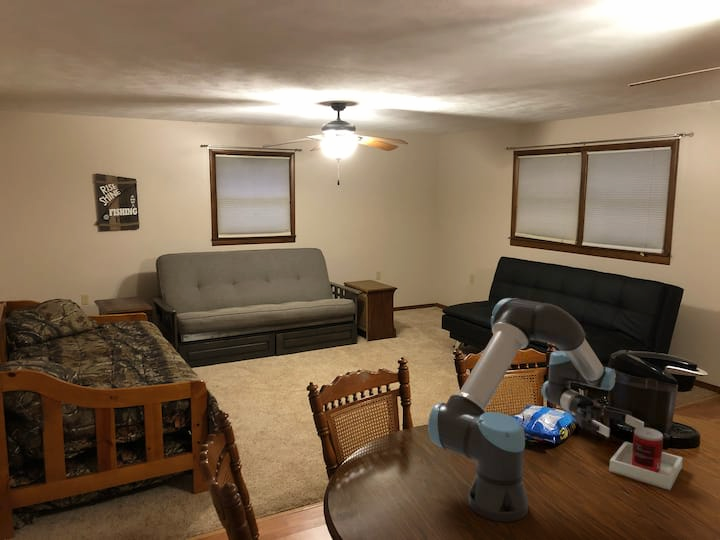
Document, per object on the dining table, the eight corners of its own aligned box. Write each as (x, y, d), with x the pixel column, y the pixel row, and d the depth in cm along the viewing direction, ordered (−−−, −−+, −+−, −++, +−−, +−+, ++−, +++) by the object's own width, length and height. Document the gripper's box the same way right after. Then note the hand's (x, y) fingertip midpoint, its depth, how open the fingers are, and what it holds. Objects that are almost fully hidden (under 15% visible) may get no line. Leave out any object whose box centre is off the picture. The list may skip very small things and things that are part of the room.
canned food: (653, 461, 166) (656, 427, 165) (665, 475, 158) (668, 439, 157) (626, 460, 167) (629, 426, 165) (637, 473, 159) (640, 438, 158)
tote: (670, 490, 152) (671, 478, 151) (609, 471, 162) (610, 460, 161) (681, 468, 164) (682, 457, 163) (624, 451, 174) (624, 441, 173)
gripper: (605, 410, 194) (655, 435, 174) (546, 419, 185) (592, 447, 166) (606, 389, 193) (657, 412, 173) (548, 398, 184) (594, 423, 164)
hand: (626, 429), depth 169 cm, fingers open, 13 cm apart
